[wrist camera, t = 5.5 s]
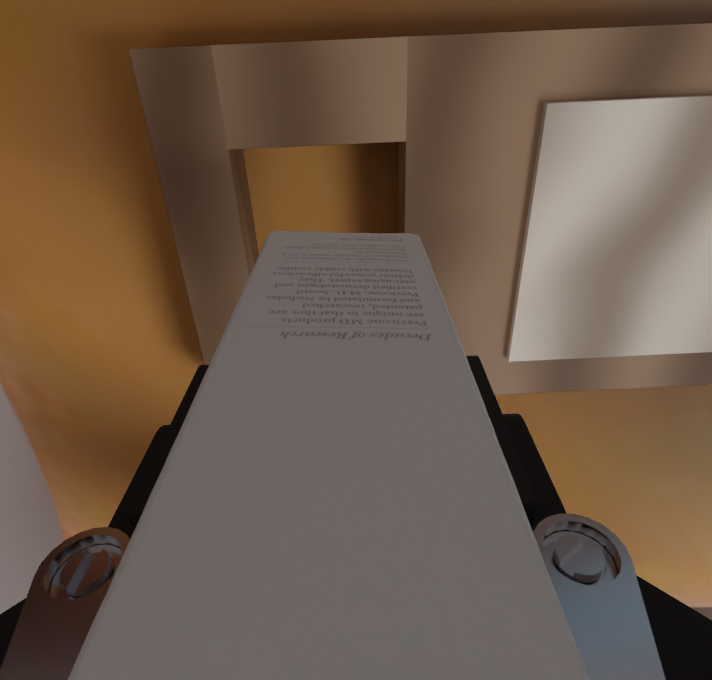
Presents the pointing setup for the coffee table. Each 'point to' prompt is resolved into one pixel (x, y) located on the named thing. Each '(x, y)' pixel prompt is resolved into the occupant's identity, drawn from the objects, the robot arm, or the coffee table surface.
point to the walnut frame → (477, 183)
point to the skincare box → (334, 497)
